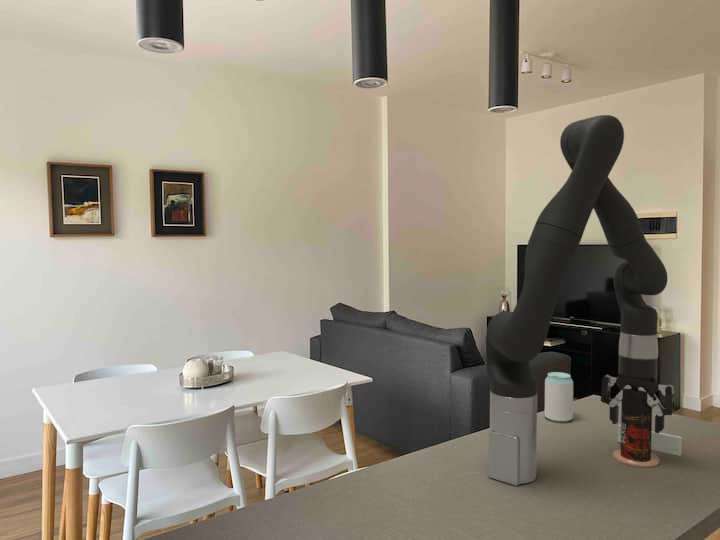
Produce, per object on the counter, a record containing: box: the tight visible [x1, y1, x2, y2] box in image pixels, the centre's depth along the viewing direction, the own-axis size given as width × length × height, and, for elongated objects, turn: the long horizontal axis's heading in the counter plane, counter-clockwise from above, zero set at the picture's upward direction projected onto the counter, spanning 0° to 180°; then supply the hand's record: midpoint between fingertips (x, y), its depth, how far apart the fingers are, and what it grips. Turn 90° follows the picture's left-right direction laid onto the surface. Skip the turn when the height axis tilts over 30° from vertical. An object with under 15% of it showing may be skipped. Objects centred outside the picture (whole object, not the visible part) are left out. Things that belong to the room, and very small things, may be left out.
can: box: [544, 371, 574, 423], centre depth 146 cm, size 7×7×12 cm
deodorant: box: [620, 387, 653, 462], centre depth 119 cm, size 6×6×15 cm
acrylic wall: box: [617, 423, 683, 457], centre depth 125 cm, size 1×13×4 cm, turn 49°
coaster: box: [612, 448, 660, 469], centre depth 119 cm, size 9×9×1 cm
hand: (636, 427), depth 119 cm, fingers open, 8 cm apart
